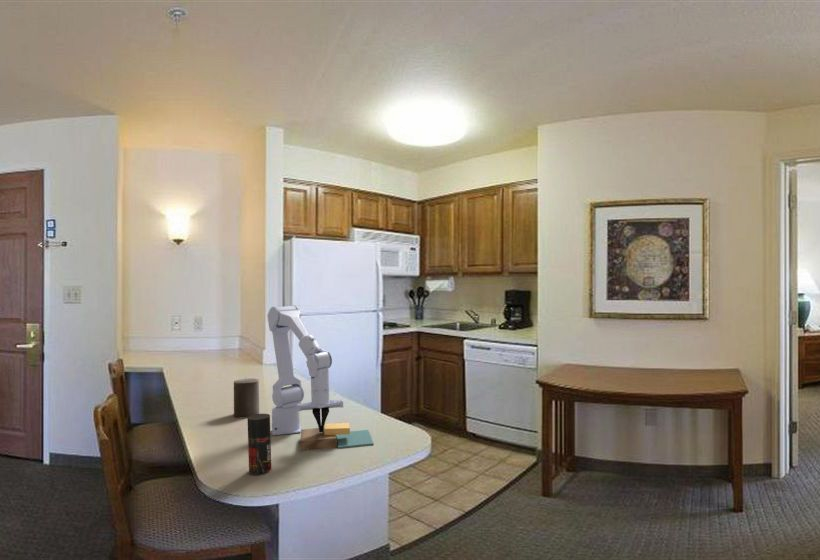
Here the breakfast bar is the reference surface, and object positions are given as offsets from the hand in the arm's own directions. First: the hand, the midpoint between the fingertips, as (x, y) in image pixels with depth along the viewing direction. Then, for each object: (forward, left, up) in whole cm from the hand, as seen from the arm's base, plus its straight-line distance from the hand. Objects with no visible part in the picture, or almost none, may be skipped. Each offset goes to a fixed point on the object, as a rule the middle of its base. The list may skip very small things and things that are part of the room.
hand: (321, 431), depth 148 cm
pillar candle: (-29, +43, -4) cm, 52 cm away
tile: (+5, 0, -1) cm, 5 cm away
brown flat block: (-1, 0, -4) cm, 4 cm away
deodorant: (-17, -18, -4) cm, 25 cm away
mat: (+10, 0, -4) cm, 11 cm away
